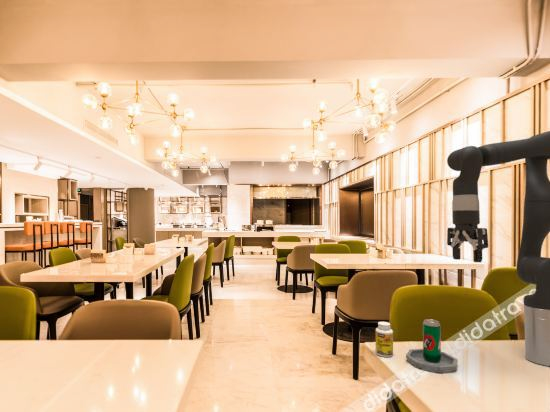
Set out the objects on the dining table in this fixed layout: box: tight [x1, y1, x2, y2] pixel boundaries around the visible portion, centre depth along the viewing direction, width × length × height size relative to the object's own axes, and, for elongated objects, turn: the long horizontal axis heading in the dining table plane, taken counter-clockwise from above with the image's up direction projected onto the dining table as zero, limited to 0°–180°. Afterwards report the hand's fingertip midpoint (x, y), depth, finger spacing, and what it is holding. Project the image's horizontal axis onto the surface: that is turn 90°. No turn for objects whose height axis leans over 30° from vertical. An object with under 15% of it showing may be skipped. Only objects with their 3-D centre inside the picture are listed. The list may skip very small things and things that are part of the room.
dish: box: [405, 348, 459, 374], centre depth 103 cm, size 14×14×2 cm
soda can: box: [422, 318, 442, 363], centre depth 103 cm, size 5×5×12 cm
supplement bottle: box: [375, 321, 394, 358], centre depth 110 cm, size 6×6×10 cm
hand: (466, 260), depth 104 cm, fingers open, 8 cm apart
